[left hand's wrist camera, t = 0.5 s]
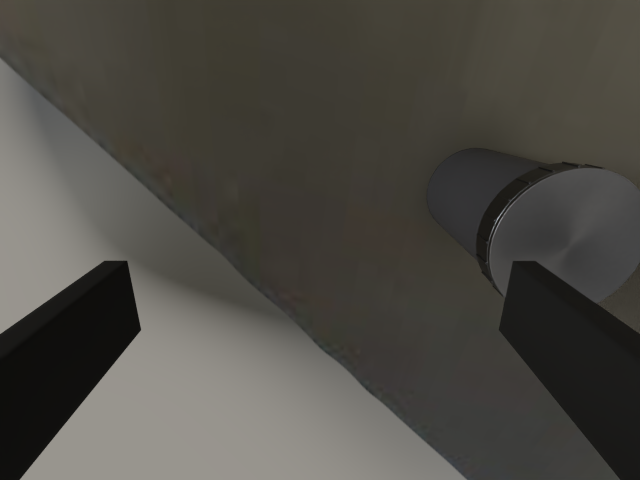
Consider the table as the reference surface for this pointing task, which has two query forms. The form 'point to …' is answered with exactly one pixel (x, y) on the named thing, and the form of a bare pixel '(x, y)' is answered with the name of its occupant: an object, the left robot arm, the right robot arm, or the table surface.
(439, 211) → the screw-top jar
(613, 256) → the lid
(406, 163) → the table surface
